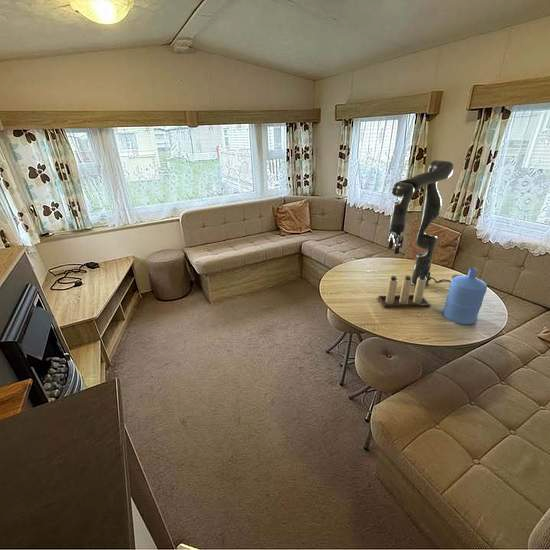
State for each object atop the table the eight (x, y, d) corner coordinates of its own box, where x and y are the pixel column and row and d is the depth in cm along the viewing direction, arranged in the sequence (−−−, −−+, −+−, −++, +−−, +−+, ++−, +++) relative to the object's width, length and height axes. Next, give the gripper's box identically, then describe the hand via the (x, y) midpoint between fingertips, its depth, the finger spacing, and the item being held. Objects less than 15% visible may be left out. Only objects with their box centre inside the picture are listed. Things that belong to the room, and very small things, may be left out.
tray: (421, 297, 178) (421, 294, 177) (429, 307, 168) (430, 304, 167) (378, 298, 178) (378, 295, 177) (384, 308, 168) (384, 305, 167)
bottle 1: (405, 300, 175) (410, 274, 167) (408, 304, 171) (414, 278, 163) (397, 300, 175) (402, 275, 167) (400, 304, 171) (405, 278, 163)
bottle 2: (419, 299, 175) (424, 274, 167) (422, 303, 171) (428, 278, 163) (411, 299, 175) (416, 274, 167) (414, 304, 171) (420, 278, 163)
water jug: (475, 328, 150) (492, 279, 137) (441, 319, 157) (453, 272, 145) (476, 313, 161) (491, 266, 149) (443, 306, 169) (456, 260, 157)
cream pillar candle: (392, 300, 175) (396, 275, 167) (394, 304, 171) (399, 278, 163) (384, 300, 175) (388, 275, 167) (386, 304, 171) (391, 279, 163)
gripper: (410, 225, 150) (405, 255, 157) (399, 218, 163) (395, 245, 170) (395, 226, 150) (391, 256, 157) (385, 218, 163) (381, 246, 170)
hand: (393, 250), depth 164 cm, fingers open, 8 cm apart
